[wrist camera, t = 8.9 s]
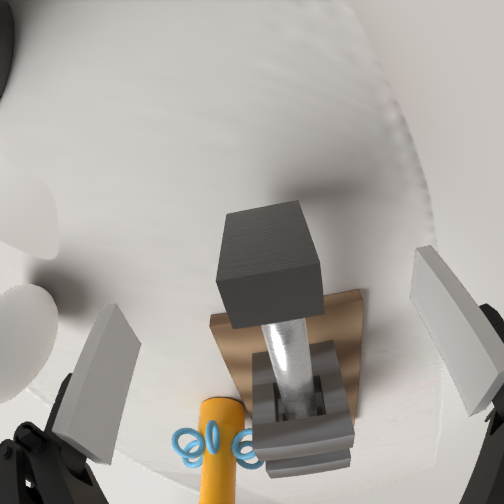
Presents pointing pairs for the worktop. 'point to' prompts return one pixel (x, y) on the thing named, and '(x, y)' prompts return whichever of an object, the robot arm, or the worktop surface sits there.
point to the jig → (325, 386)
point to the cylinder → (218, 448)
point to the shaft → (275, 292)
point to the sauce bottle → (24, 336)
